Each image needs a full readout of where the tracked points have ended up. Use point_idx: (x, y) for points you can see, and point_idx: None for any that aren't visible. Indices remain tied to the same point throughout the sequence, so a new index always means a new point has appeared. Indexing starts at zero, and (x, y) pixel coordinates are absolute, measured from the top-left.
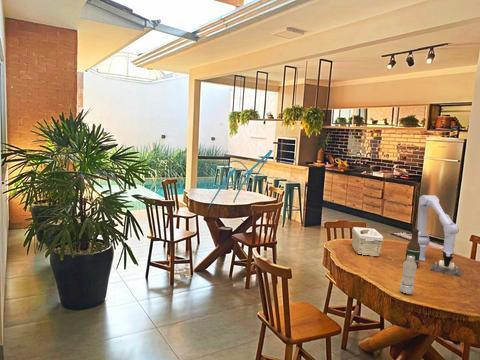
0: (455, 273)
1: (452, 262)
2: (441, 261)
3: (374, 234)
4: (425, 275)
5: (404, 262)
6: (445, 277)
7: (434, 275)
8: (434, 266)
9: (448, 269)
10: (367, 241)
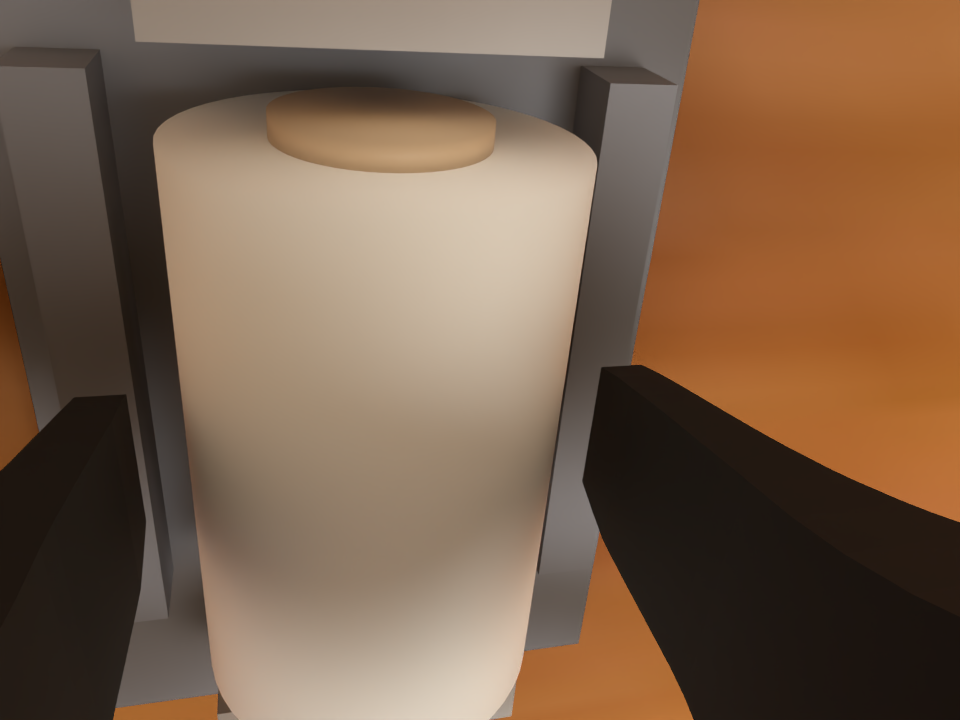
0: (681, 23)
1: (371, 310)
2: (476, 679)
3: None
4: None
5: None
6: (955, 287)
7: (897, 496)
8: None
9: (591, 293)
10: None
